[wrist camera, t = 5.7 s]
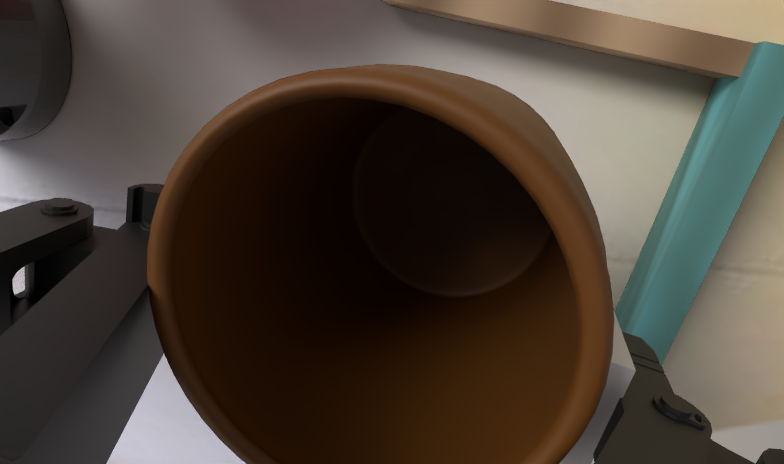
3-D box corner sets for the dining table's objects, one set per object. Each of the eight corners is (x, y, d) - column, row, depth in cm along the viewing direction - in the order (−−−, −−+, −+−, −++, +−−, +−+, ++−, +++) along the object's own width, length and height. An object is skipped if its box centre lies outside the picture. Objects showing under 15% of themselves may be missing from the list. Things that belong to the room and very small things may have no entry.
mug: (617, 410, 16) (711, 774, 8) (404, 423, 19) (291, 709, 10) (547, 43, 14) (567, -37, 5) (314, 113, 16) (66, 138, 8)
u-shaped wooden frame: (336, 271, 34) (313, 294, 31) (396, -23, 28) (377, -39, 24) (627, 367, 31) (641, 406, 27) (771, 56, 25) (815, 51, 21)
